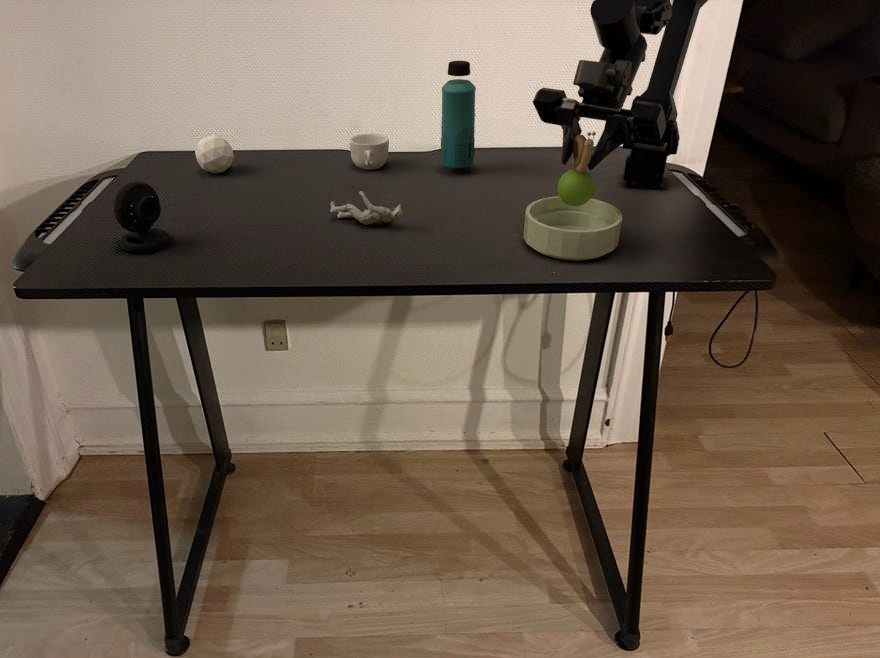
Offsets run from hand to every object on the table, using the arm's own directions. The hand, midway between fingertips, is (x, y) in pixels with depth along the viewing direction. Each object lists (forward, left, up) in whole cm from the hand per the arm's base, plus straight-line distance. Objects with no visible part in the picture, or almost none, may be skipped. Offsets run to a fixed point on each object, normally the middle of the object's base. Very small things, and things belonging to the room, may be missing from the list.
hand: (576, 165), depth 104 cm
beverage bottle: (+23, -31, -13) cm, 40 cm away
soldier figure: (+33, -2, -13) cm, 35 cm away
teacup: (+40, -29, -13) cm, 51 cm away
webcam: (+65, +13, -13) cm, 67 cm away
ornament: (+69, -21, -13) cm, 73 cm away
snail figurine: (-1, -1, -7) cm, 7 cm away
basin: (0, -1, -13) cm, 13 cm away
